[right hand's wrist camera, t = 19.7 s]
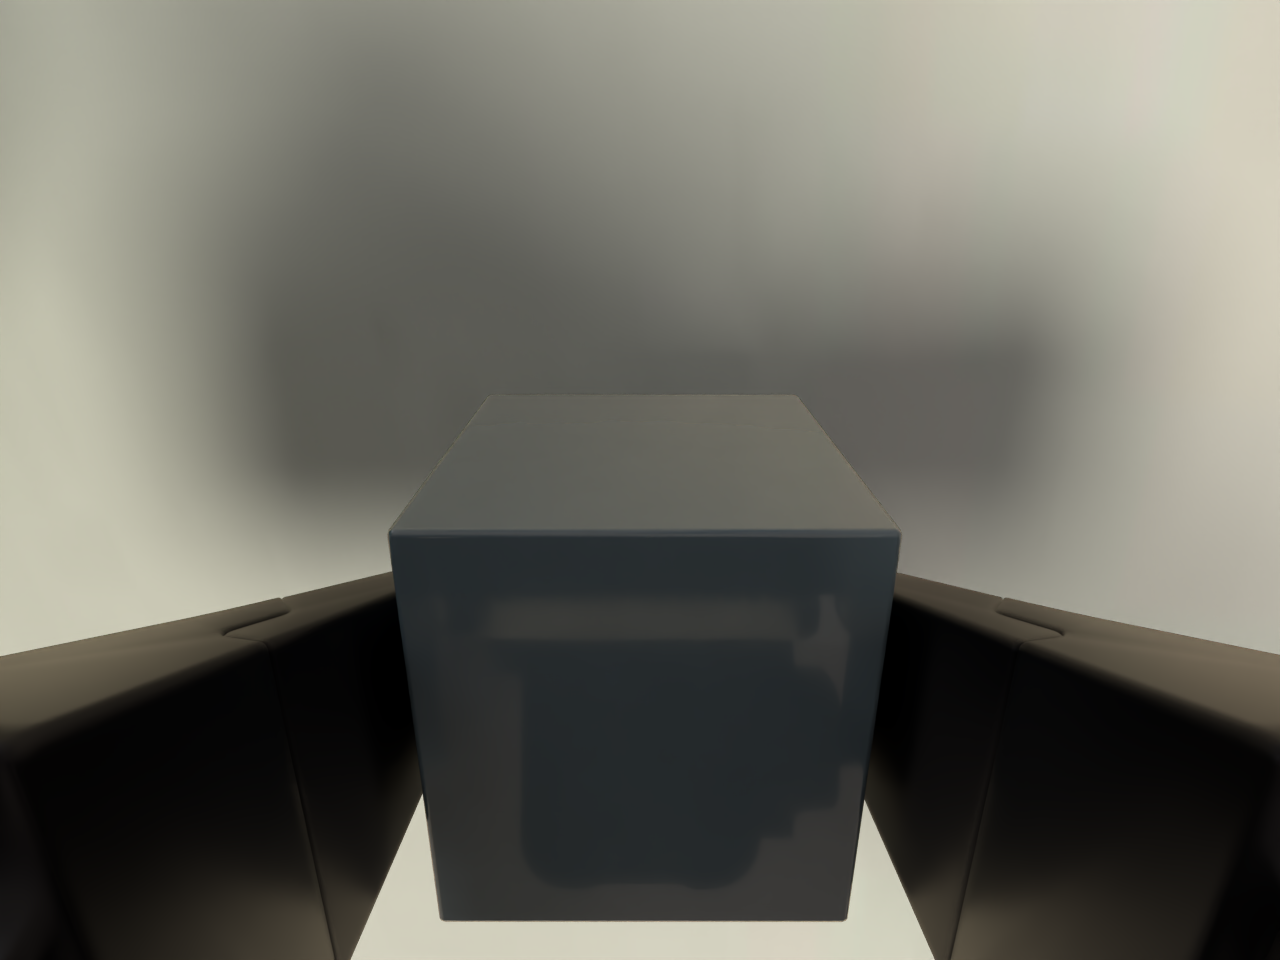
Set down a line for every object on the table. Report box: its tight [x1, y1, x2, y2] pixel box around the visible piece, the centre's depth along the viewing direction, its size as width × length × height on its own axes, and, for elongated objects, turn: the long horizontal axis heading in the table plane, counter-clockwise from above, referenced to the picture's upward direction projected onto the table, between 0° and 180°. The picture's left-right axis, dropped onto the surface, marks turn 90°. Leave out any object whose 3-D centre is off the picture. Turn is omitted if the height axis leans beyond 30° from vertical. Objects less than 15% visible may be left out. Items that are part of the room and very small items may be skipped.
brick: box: [387, 394, 902, 922], centre depth 10 cm, size 5×5×5 cm
